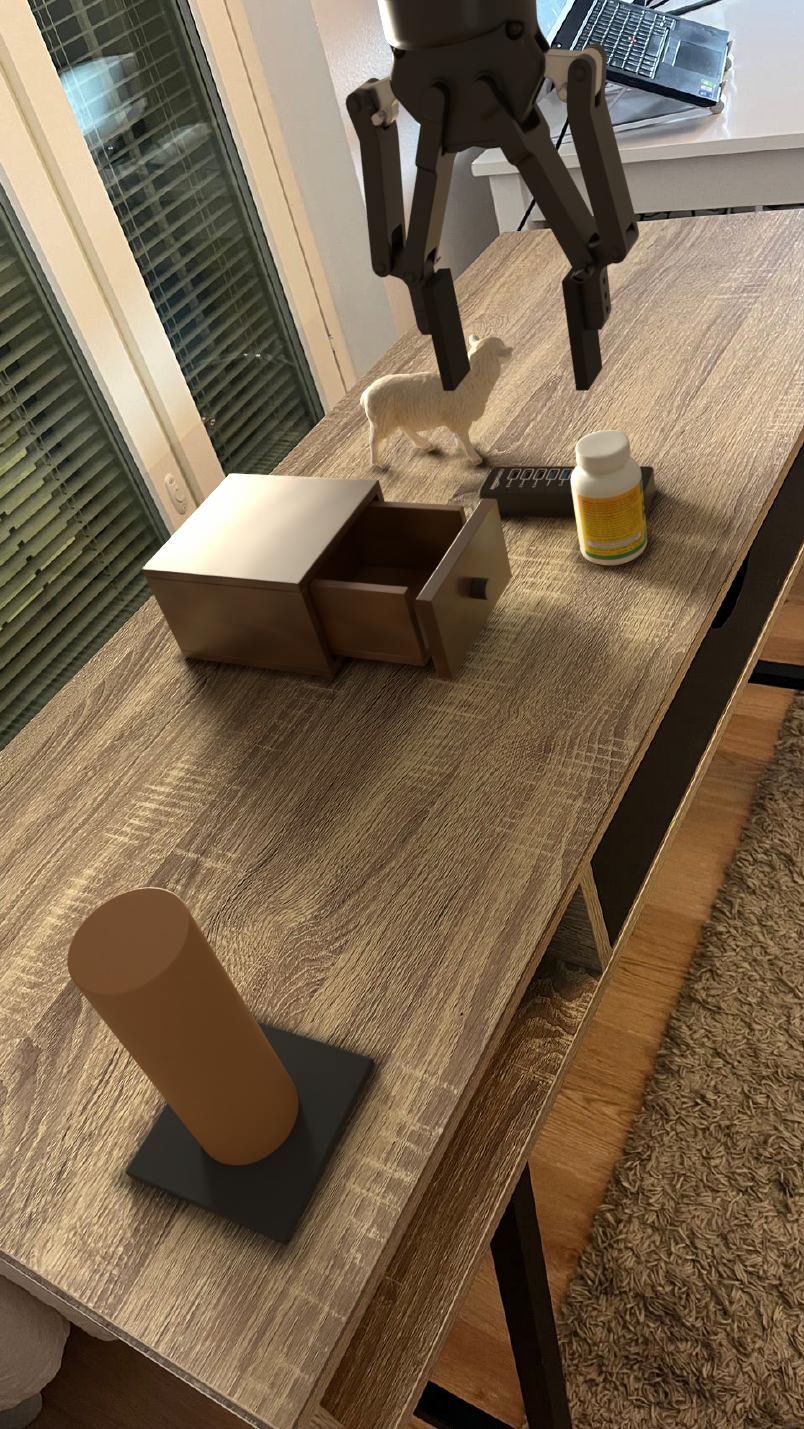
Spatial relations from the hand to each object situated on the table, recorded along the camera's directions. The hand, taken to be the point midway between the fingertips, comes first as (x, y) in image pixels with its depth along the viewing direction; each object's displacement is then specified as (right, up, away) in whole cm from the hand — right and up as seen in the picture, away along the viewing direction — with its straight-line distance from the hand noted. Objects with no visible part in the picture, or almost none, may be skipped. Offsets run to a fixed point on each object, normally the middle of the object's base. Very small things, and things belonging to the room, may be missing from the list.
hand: (521, 379), depth 65 cm
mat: (-15, -42, -8) cm, 45 cm away
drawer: (-6, -13, +19) cm, 24 cm away
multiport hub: (+7, -2, +28) cm, 29 cm away
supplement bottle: (+10, -7, +21) cm, 25 cm away
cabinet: (-16, -12, +25) cm, 32 cm away
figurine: (-2, +4, +38) cm, 39 cm away
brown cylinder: (-15, -42, -9) cm, 45 cm away
